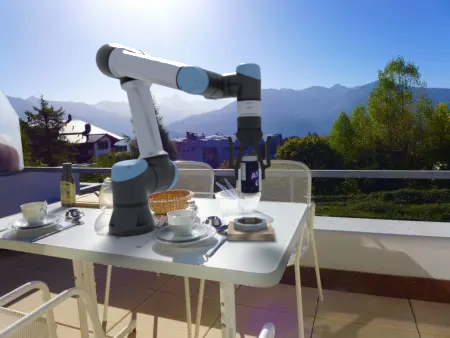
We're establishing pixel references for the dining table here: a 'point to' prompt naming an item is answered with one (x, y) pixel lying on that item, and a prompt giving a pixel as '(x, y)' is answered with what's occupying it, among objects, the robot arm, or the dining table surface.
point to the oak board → (250, 233)
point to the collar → (250, 224)
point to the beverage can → (249, 175)
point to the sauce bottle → (67, 186)
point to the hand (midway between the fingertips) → (249, 189)
